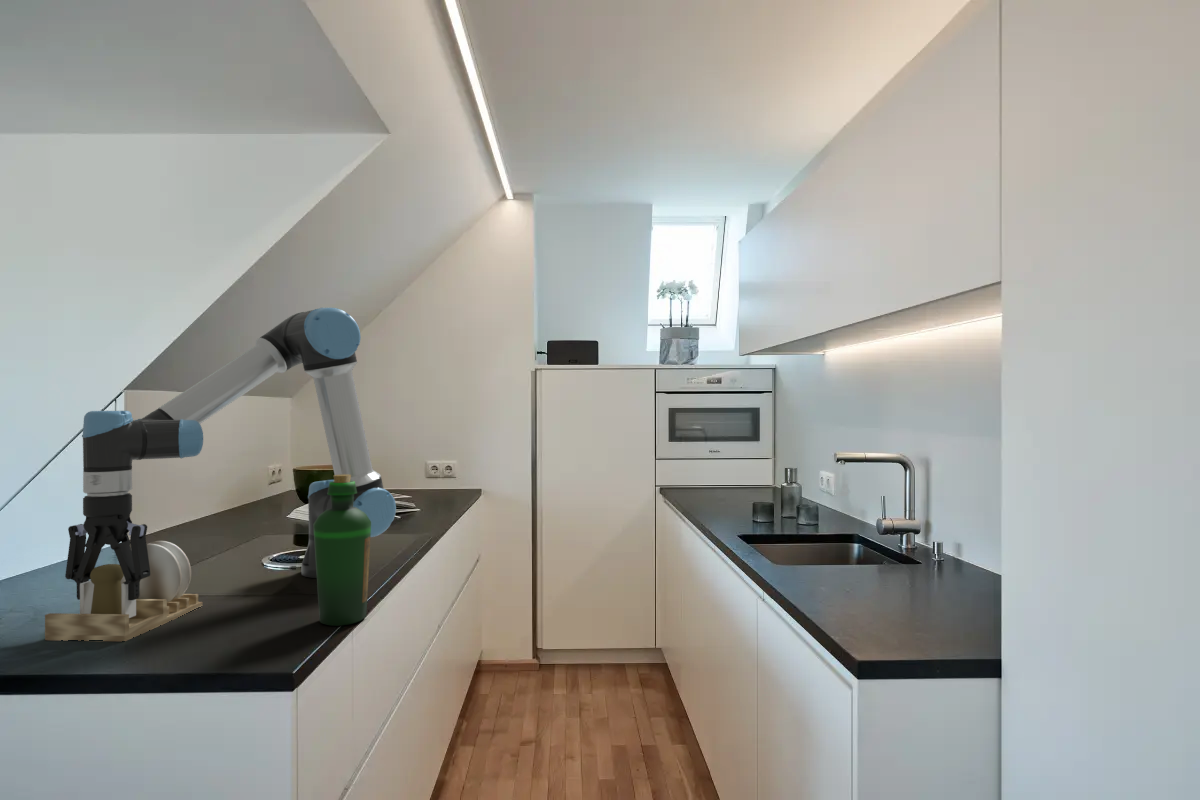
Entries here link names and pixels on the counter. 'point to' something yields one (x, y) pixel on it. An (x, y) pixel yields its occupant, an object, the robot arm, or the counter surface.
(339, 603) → the bottle
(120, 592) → the cork
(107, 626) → the rack
